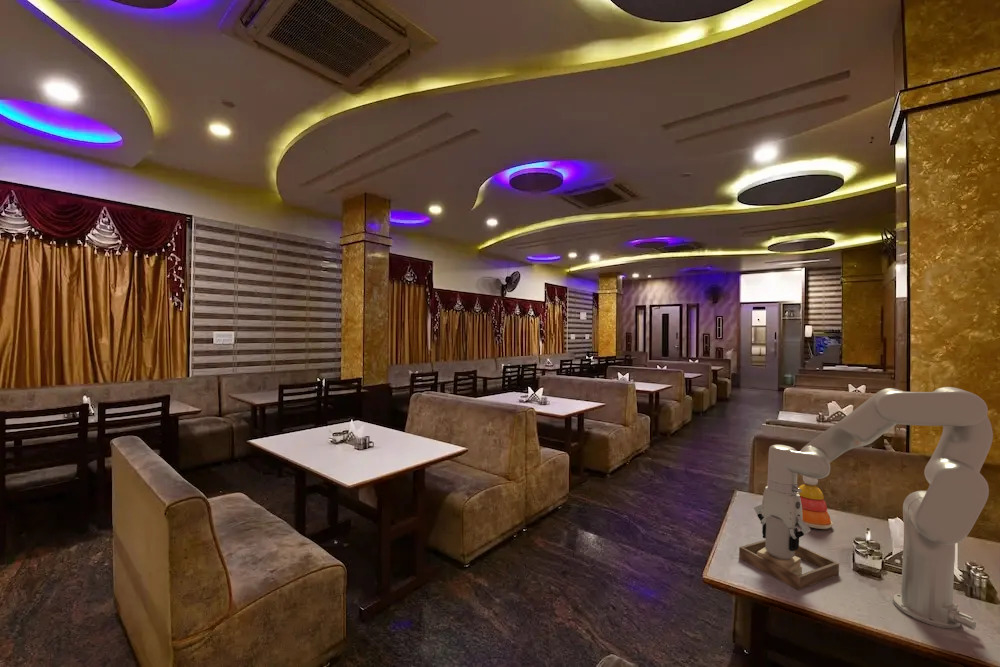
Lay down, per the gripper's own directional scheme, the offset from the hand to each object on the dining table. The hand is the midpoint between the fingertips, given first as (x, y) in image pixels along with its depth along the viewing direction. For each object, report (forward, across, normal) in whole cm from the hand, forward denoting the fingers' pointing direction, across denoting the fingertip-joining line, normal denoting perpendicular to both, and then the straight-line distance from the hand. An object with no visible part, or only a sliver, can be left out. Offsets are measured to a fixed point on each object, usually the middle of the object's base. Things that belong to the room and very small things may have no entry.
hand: (779, 543), depth 130 cm
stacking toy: (+8, +16, -44) cm, 48 cm away
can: (+4, 0, 0) cm, 4 cm away
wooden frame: (+8, 0, -4) cm, 9 cm away
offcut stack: (+8, 0, 0) cm, 8 cm away
